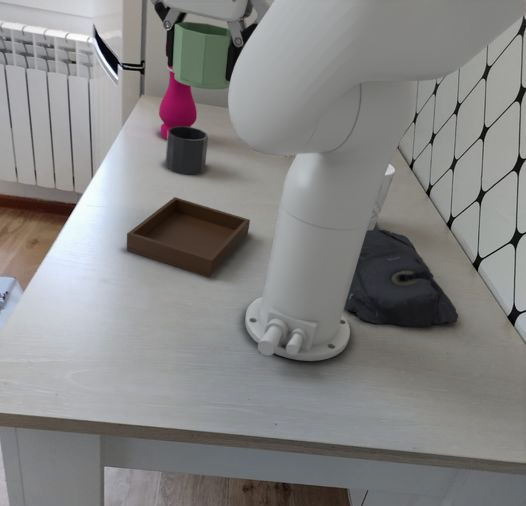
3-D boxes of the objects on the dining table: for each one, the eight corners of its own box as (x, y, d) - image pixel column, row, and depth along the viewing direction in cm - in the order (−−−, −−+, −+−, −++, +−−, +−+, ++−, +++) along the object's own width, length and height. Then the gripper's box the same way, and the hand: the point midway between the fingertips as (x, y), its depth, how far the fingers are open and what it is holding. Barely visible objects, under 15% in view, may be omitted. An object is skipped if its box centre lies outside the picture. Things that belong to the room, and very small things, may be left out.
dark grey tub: (194, 177, 101) (197, 143, 98) (159, 167, 102) (160, 133, 99) (210, 166, 107) (213, 133, 103) (176, 156, 108) (178, 123, 104)
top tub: (217, 93, 71) (223, 38, 68) (164, 79, 73) (166, 25, 69) (239, 82, 77) (244, 32, 73) (189, 70, 78) (192, 19, 75)
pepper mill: (155, 129, 117) (159, 16, 105) (190, 131, 120) (199, 21, 108) (161, 142, 112) (167, 25, 100) (198, 144, 115) (208, 30, 102)
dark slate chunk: (415, 249, 93) (425, 222, 90) (461, 332, 76) (475, 302, 73) (321, 238, 91) (328, 210, 88) (346, 321, 73) (356, 289, 70)
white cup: (376, 239, 93) (394, 179, 87) (328, 227, 94) (342, 167, 88) (378, 219, 100) (395, 162, 94) (333, 208, 100) (347, 151, 94)
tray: (210, 277, 76) (212, 260, 75) (126, 250, 79) (126, 233, 77) (247, 235, 88) (250, 219, 86) (173, 212, 90) (174, 196, 88)
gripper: (128, -120, 62) (127, 61, 73) (282, -91, 59) (257, 94, 70) (161, -114, 68) (155, 53, 79) (303, -87, 65) (277, 82, 76)
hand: (203, 71), depth 74 cm, fingers closed on top tub, 7 cm apart
